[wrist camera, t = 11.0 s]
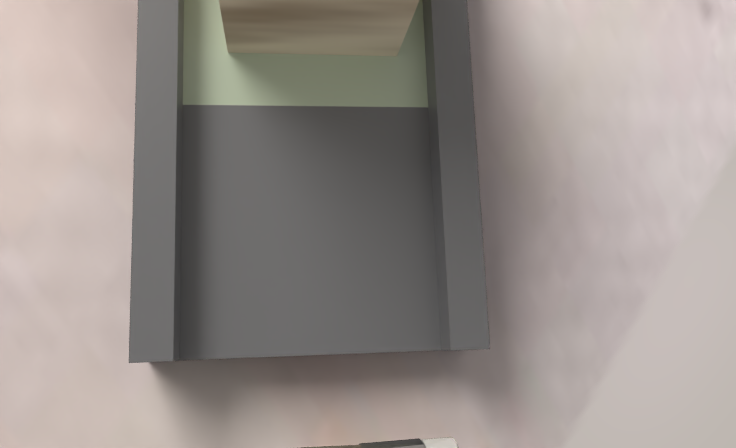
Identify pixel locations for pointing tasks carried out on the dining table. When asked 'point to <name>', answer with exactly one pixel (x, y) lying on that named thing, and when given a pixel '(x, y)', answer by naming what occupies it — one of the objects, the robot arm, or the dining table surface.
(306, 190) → the grey rimmed tray
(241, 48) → the block
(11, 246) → the dining table surface
